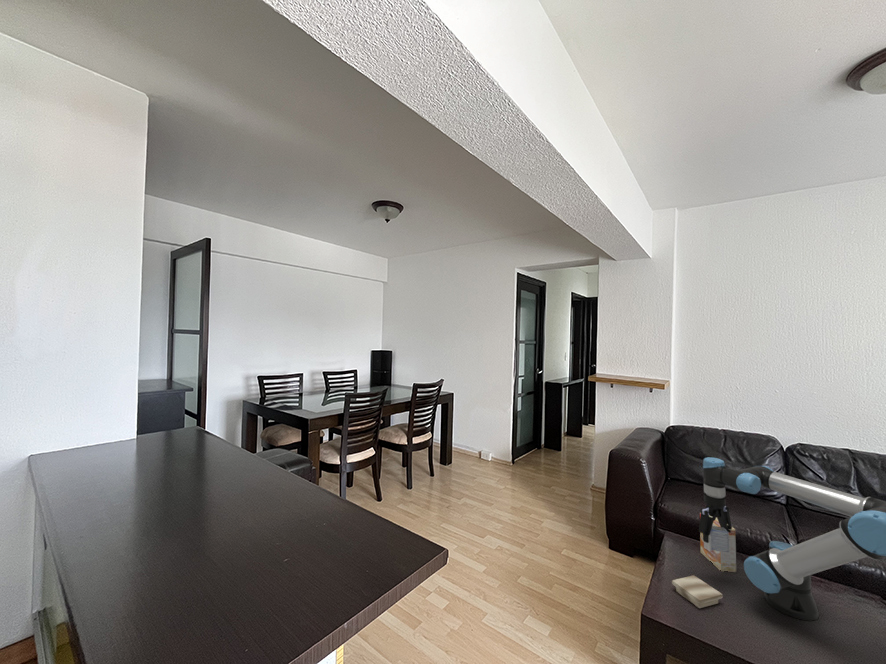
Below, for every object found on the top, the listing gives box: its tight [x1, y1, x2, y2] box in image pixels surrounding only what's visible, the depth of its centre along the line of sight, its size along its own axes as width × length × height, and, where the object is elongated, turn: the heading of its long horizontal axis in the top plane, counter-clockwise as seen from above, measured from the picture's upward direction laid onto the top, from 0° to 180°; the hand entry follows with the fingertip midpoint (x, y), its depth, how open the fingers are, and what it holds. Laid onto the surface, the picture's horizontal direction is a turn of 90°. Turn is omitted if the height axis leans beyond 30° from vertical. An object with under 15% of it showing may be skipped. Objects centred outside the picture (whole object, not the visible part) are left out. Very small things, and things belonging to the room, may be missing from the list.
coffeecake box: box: [699, 512, 737, 573], centre depth 168 cm, size 15×7×20 cm, turn 174°
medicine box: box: [709, 526, 729, 552], centre depth 153 cm, size 8×4×9 cm, turn 71°
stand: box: [671, 574, 723, 609], centre depth 145 cm, size 12×12×4 cm
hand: (715, 547), depth 153 cm, fingers closed on medicine box, 9 cm apart
